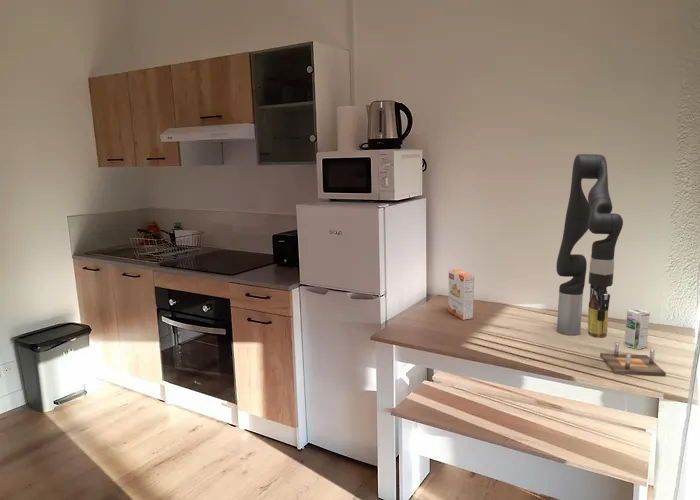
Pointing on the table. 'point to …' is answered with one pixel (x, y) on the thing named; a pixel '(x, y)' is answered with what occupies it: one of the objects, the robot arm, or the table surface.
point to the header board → (632, 365)
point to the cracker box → (461, 294)
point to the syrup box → (636, 328)
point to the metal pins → (628, 356)
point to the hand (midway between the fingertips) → (597, 317)
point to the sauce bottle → (595, 326)
